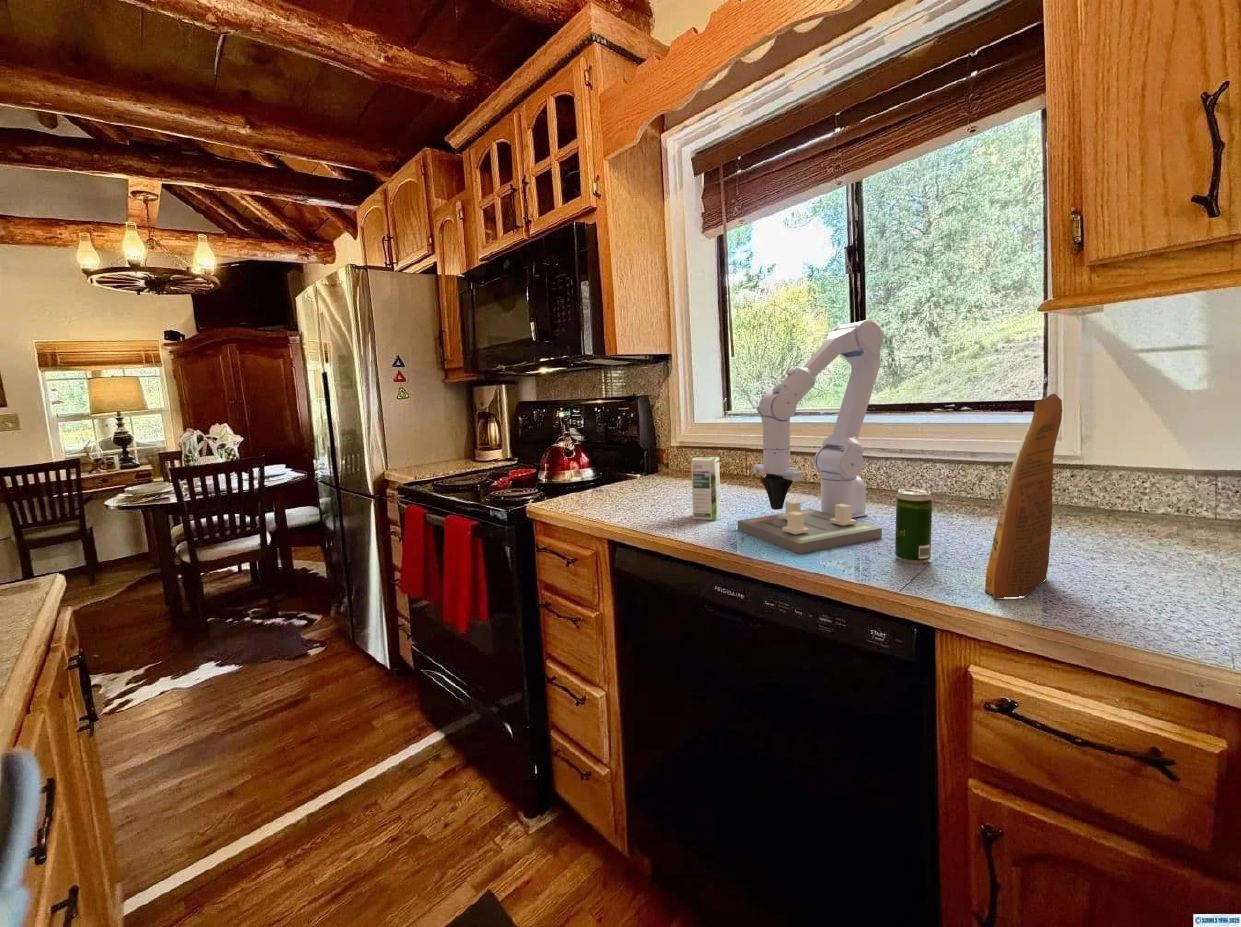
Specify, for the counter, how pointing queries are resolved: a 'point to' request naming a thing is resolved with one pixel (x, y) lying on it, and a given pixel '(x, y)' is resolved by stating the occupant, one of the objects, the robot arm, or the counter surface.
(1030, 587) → the pancake mix bag
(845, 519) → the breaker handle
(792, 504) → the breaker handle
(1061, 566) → the counter surface
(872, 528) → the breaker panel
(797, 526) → the breaker handle
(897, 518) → the beer can
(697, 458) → the syrup box
